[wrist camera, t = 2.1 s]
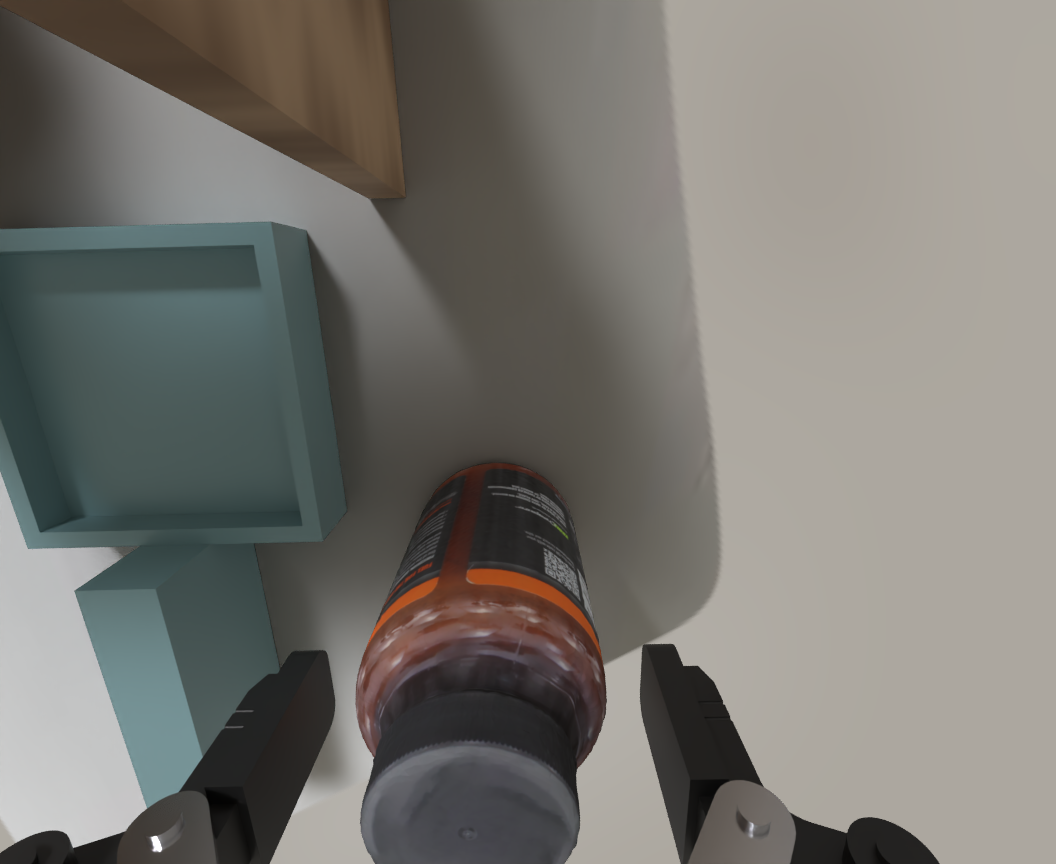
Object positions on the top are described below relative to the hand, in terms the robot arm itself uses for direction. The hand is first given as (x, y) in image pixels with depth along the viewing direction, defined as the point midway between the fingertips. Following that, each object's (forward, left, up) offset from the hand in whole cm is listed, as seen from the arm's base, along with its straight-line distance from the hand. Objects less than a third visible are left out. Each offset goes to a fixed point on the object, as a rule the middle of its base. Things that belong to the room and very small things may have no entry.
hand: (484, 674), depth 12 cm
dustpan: (-2, -11, -7) cm, 13 cm away
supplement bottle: (0, 0, -8) cm, 8 cm away
